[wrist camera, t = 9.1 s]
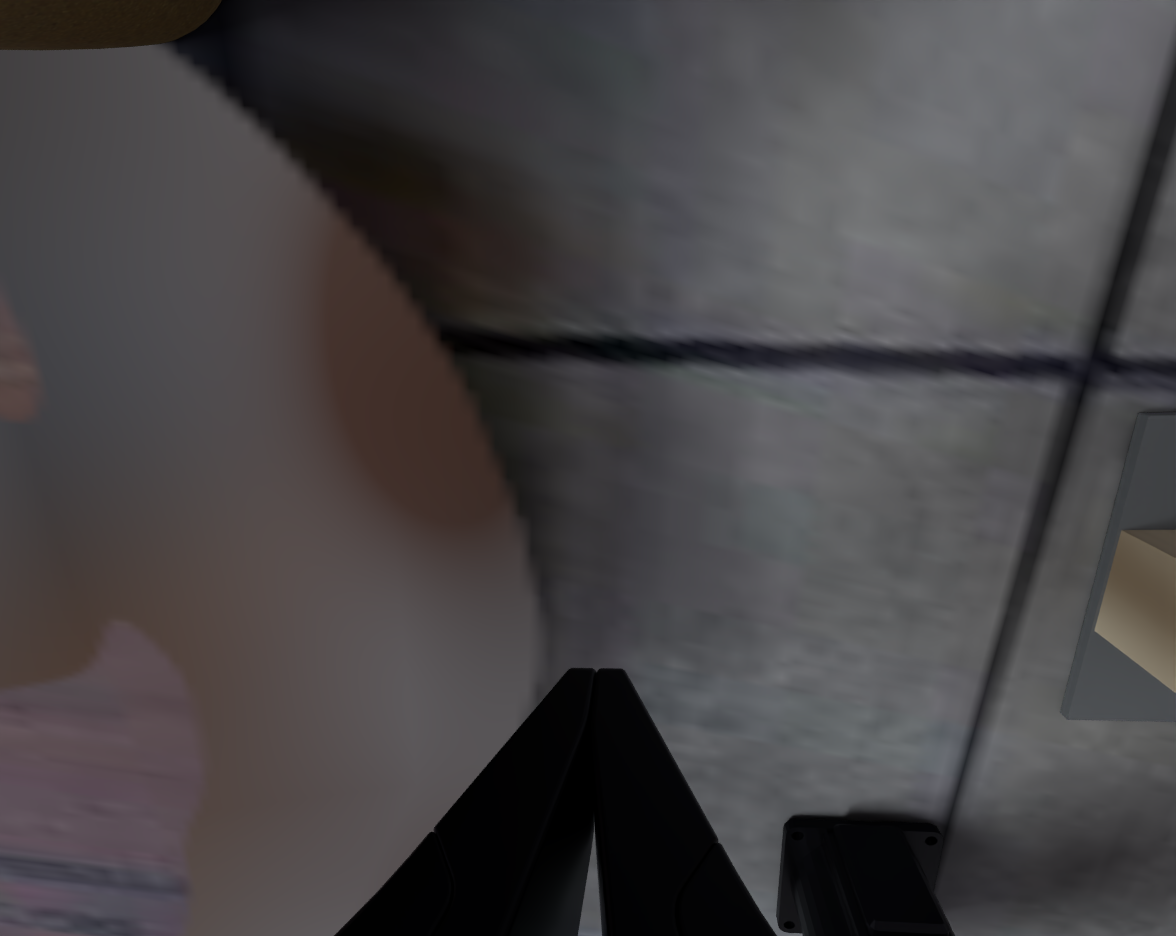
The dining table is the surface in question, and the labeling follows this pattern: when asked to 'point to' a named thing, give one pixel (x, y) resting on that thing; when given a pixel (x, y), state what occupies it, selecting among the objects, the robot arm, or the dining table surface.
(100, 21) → the plant pot
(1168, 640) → the oak block
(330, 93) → the dining table surface
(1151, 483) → the mat
